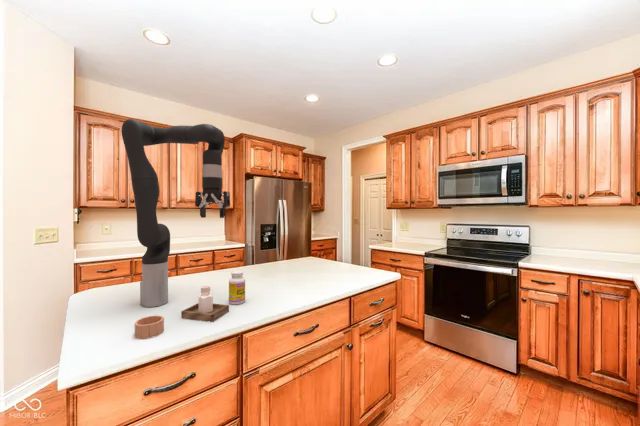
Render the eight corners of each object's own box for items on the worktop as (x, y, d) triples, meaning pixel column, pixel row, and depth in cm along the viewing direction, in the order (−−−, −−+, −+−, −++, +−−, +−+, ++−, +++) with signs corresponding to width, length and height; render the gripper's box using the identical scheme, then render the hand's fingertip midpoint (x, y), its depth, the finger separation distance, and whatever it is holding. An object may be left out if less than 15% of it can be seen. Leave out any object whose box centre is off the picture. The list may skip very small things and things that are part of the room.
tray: (181, 318, 98) (181, 311, 98) (199, 308, 107) (199, 302, 107) (212, 322, 94) (212, 315, 94) (228, 311, 104) (228, 305, 104)
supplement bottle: (236, 306, 110) (236, 274, 110) (225, 303, 113) (225, 272, 113) (248, 301, 116) (248, 271, 115) (237, 298, 119) (237, 269, 119)
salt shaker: (203, 315, 98) (202, 289, 98) (197, 312, 101) (197, 286, 100) (213, 311, 101) (213, 286, 101) (208, 309, 104) (208, 284, 104)
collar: (128, 336, 84) (128, 324, 83) (150, 326, 91) (149, 314, 91) (149, 339, 82) (149, 326, 82) (169, 328, 89) (169, 316, 89)
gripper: (233, 177, 109) (233, 217, 109) (203, 178, 112) (203, 217, 113) (222, 175, 102) (222, 218, 102) (190, 176, 105) (190, 217, 106)
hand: (212, 217), depth 107 cm, fingers open, 8 cm apart
